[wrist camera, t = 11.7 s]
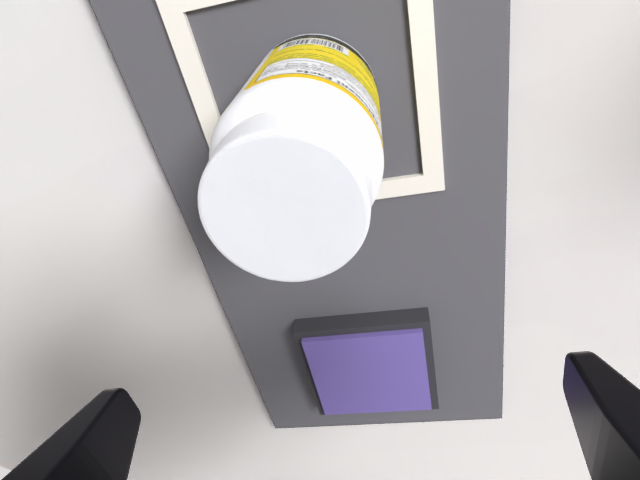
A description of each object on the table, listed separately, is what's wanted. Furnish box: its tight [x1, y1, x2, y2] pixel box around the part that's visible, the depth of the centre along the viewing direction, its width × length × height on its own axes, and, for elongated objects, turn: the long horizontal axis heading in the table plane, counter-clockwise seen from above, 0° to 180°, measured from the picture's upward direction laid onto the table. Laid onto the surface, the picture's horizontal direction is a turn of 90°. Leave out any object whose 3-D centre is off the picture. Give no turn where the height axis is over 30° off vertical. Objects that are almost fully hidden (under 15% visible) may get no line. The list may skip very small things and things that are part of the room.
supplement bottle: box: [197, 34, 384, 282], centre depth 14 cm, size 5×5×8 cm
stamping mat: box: [89, 0, 510, 428], centre depth 21 cm, size 14×26×2 cm, turn 12°
